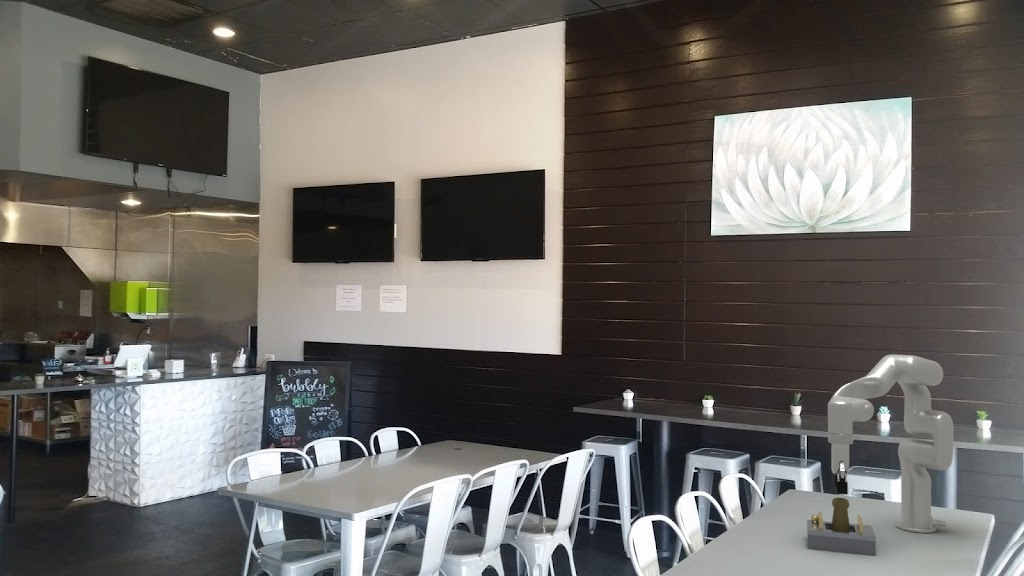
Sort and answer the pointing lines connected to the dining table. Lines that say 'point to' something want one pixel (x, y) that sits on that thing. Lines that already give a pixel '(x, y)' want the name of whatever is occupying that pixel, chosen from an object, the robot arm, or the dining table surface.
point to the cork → (840, 515)
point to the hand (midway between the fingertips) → (841, 490)
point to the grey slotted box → (840, 537)
